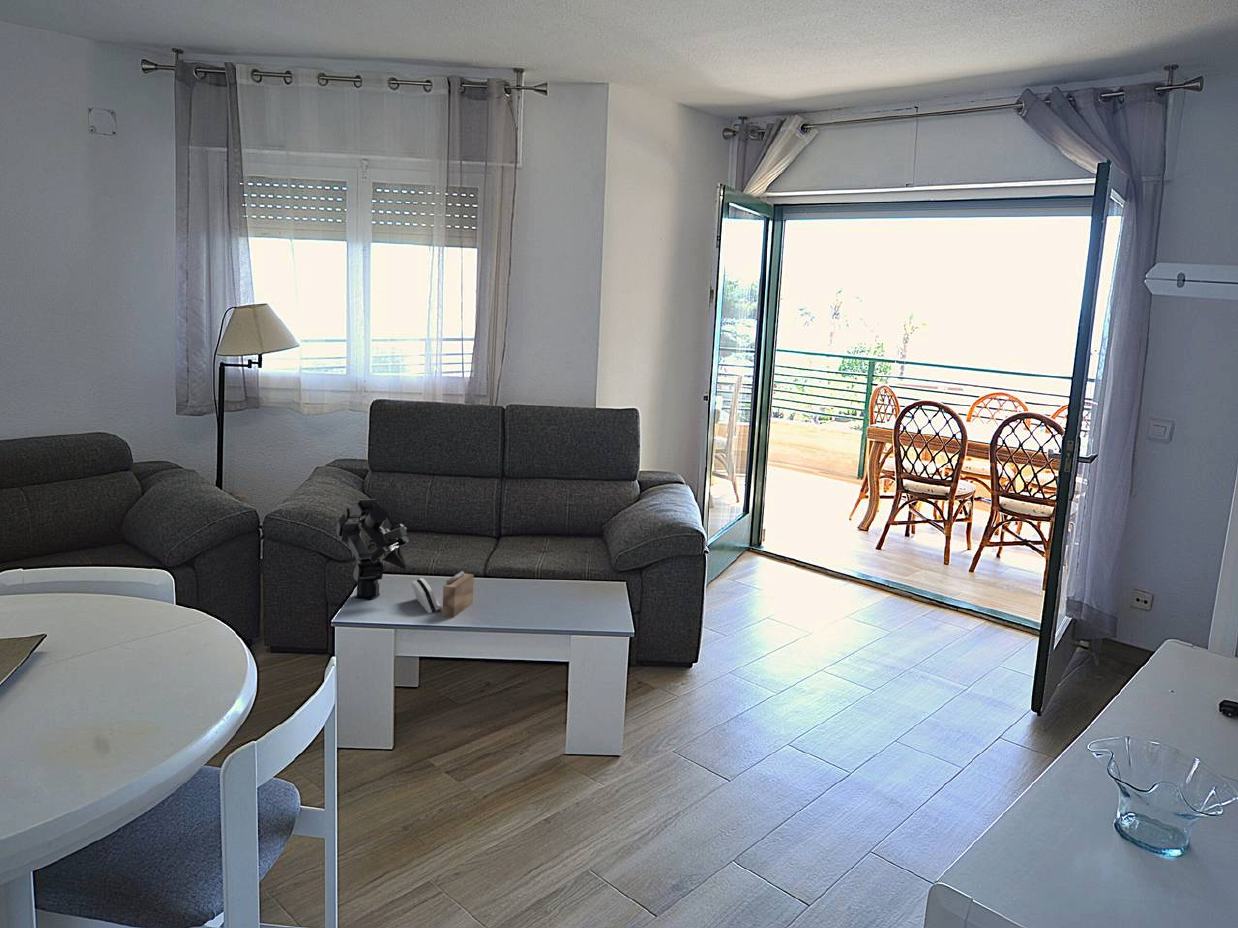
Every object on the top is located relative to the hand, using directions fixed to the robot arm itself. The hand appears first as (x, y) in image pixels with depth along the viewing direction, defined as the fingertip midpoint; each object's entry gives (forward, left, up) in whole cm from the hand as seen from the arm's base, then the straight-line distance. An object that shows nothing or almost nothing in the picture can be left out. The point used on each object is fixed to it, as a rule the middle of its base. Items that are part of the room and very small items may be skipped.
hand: (405, 568), depth 314 cm
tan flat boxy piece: (+19, 0, -12) cm, 22 cm away
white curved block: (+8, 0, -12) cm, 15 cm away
